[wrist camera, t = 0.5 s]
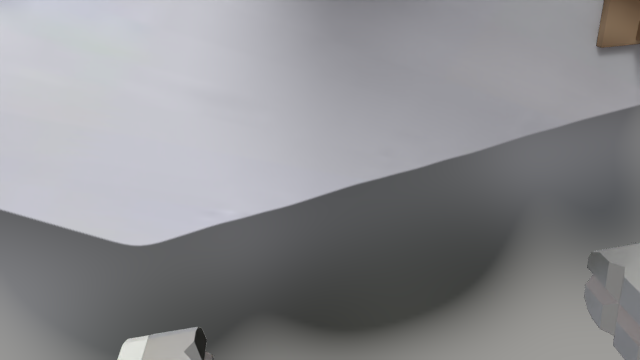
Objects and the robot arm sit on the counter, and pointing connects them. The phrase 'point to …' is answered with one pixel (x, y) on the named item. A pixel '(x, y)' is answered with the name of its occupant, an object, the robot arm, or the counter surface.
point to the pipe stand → (619, 23)
